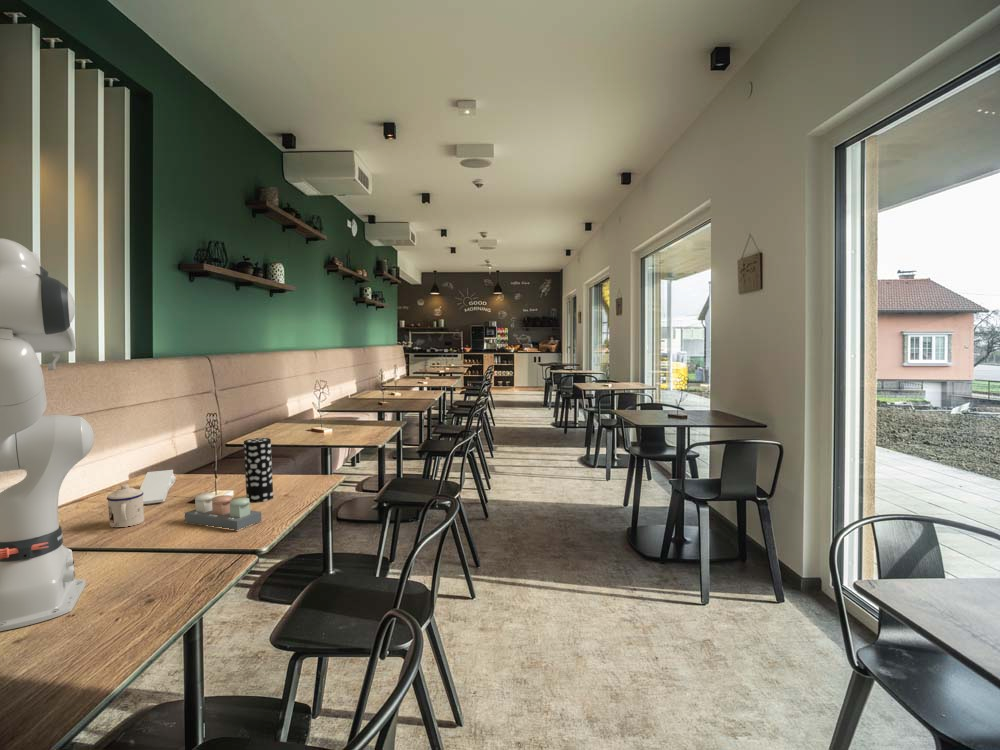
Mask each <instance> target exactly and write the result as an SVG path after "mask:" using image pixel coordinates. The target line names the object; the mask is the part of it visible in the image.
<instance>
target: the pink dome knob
mask: <svg viewBox="0 0 1000 750" xmlns="http://www.w3.org/2000/svg"><path fill="white" fill-rule="evenodd" d="M231 500H233V498H232V495H231V494H230V495H228V494H226V495H225V494H224V495H218V496H215V497H214V498H212V510H213V514H216V515H225V514H227V513H230V501H231Z"/></svg>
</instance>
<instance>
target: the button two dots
mask: <svg viewBox="0 0 1000 750" xmlns="http://www.w3.org/2000/svg"><path fill="white" fill-rule="evenodd" d="M250 510H251V502H249V498H247V497H238V498H232V500H231V501H230V517H235V518H242V517H244V516H247V515H250Z"/></svg>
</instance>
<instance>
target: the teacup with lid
mask: <svg viewBox="0 0 1000 750" xmlns="http://www.w3.org/2000/svg"><path fill="white" fill-rule="evenodd" d="M143 494H144V493H143V491H142V490H140V488H134V487H132V486H131V487H130V485H129V484H128V483H127V484H125V483H124V484H121V485H120V488H118V489H117V490H116V491H114V492H111V493H109V494H108V495H107V497H106V500H107V504H108V505H107V507H108V520H109V526H110V527H111V528H113V527H125V528H129V527H128V526H131V527H134V526H133V525H135V526H137V524H138V525H140V524H142V523H143V522H144V521H145V510H144V504H143Z"/></svg>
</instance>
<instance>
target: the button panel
mask: <svg viewBox="0 0 1000 750" xmlns="http://www.w3.org/2000/svg"><path fill="white" fill-rule="evenodd" d="M260 521H262V511H258V510H252V509H250V515H247V516H244V517H242V518H235V517H230V513H227V514H225V515H216V514H213V510H211V511H208V512H205V513H203V512H197V511H196V508H195V509H192V510H188V511H186V512H184V523H185V522H187V523H186V524H190V523H194V524H193V525H196V524H201V525H200V526H202V525H208V526H214V527H222V528H229V529H234V530H239V529H241V528H244V527H246V526H249V525H251V524H254V523H257V522H260ZM260 523H261V522H260ZM257 524H258V523H257Z"/></svg>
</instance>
